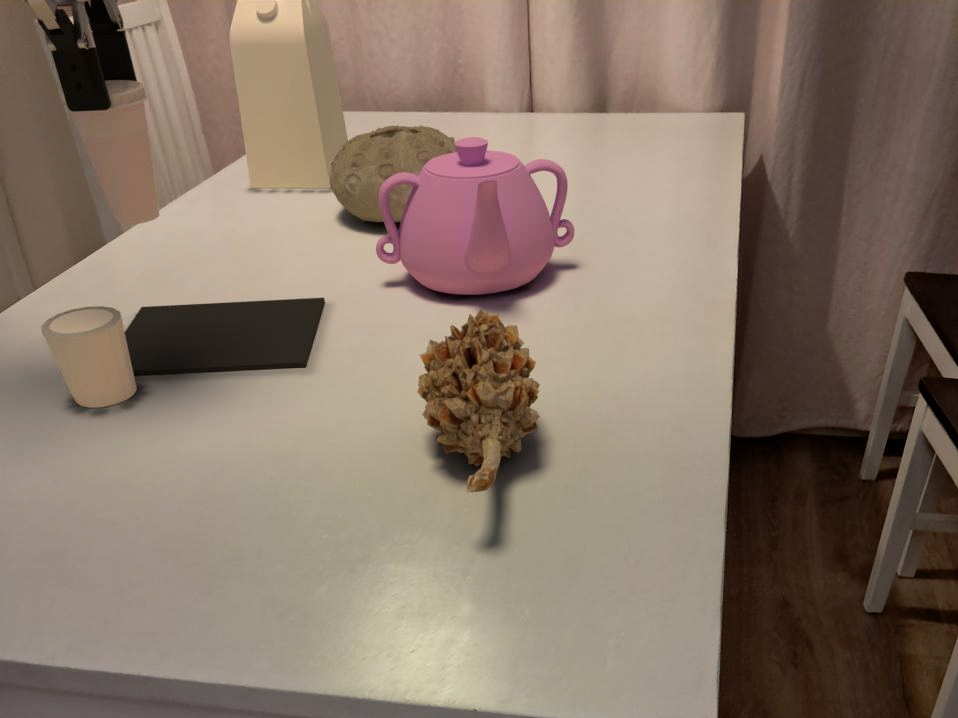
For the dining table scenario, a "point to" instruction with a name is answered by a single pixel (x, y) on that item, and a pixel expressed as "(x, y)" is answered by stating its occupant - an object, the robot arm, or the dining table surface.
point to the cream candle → (92, 355)
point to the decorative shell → (383, 167)
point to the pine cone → (480, 393)
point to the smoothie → (121, 150)
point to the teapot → (474, 221)
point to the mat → (223, 336)
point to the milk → (286, 92)
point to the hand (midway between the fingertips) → (104, 97)
